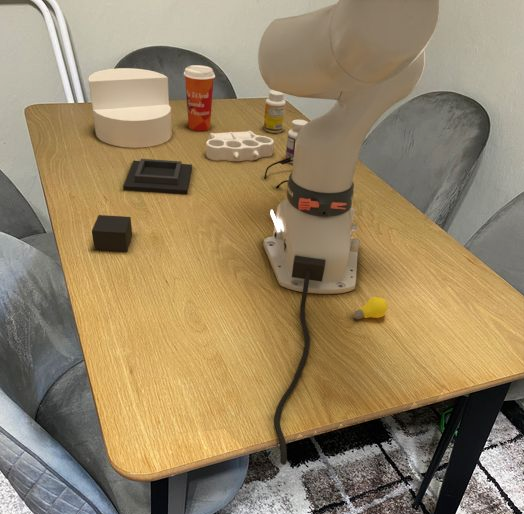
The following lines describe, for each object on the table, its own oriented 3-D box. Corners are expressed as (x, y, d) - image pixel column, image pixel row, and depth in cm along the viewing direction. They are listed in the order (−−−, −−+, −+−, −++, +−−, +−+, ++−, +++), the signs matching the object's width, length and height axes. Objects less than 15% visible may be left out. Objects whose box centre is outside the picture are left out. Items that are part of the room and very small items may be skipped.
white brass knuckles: (259, 139, 144) (280, 160, 134) (196, 143, 138) (213, 166, 128) (260, 127, 141) (281, 147, 132) (196, 130, 136) (213, 152, 126)
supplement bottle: (267, 125, 152) (270, 87, 146) (285, 129, 151) (289, 91, 144) (260, 131, 148) (263, 93, 142) (279, 135, 147) (282, 96, 140)
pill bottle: (306, 157, 137) (311, 119, 130) (305, 166, 133) (310, 127, 126) (285, 155, 137) (290, 117, 130) (284, 163, 133) (288, 124, 126)
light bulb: (389, 316, 88) (392, 306, 85) (357, 329, 88) (360, 319, 84) (379, 301, 90) (382, 290, 87) (348, 313, 89) (350, 303, 86)
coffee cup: (180, 129, 145) (178, 70, 135) (191, 120, 151) (190, 62, 141) (208, 134, 143) (208, 75, 133) (218, 125, 149) (219, 67, 139)
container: (106, 151, 130) (99, 94, 121) (87, 123, 142) (80, 69, 133) (182, 143, 137) (181, 89, 128) (158, 117, 150) (155, 66, 141)
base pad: (187, 194, 116) (186, 183, 114) (123, 190, 115) (122, 179, 113) (191, 168, 126) (191, 158, 125) (133, 164, 125) (132, 154, 124)
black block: (127, 251, 97) (125, 232, 94) (94, 249, 96) (91, 230, 94) (132, 235, 101) (130, 216, 99) (101, 233, 101) (98, 214, 98)
